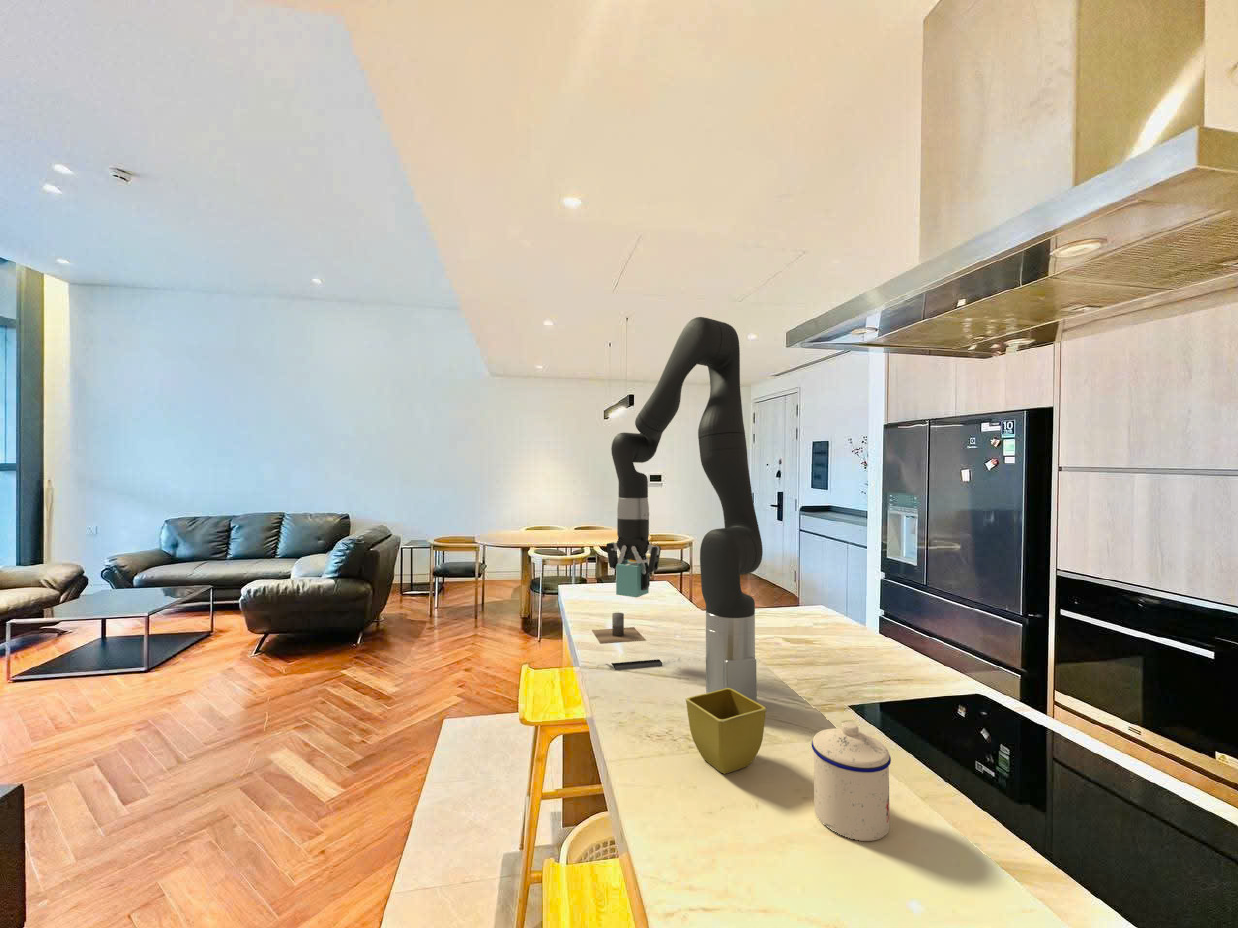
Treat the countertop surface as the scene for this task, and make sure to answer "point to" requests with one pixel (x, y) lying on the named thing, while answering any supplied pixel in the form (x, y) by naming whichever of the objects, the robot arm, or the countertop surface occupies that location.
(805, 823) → the countertop surface
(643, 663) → the mat
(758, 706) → the flower pot
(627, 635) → the post base
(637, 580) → the striped teal box
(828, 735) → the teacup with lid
